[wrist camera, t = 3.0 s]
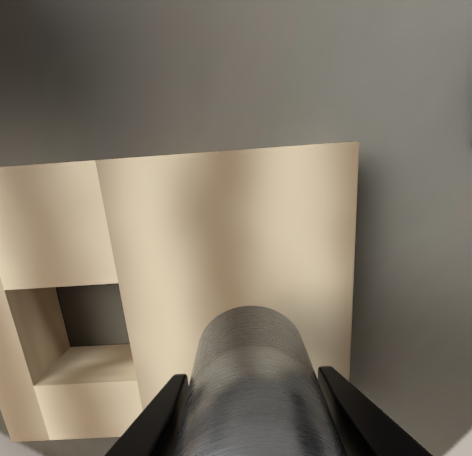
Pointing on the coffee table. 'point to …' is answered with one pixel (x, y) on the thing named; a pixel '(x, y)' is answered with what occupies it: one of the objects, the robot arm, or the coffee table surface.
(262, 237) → the plate
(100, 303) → the coffee table surface
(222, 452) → the flared metal knob
